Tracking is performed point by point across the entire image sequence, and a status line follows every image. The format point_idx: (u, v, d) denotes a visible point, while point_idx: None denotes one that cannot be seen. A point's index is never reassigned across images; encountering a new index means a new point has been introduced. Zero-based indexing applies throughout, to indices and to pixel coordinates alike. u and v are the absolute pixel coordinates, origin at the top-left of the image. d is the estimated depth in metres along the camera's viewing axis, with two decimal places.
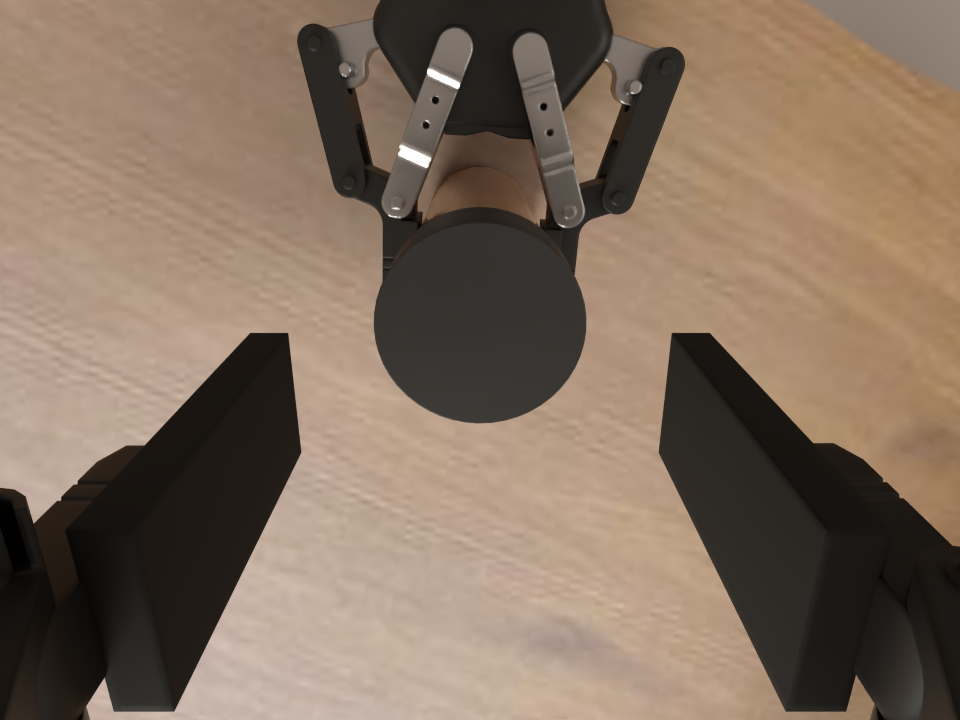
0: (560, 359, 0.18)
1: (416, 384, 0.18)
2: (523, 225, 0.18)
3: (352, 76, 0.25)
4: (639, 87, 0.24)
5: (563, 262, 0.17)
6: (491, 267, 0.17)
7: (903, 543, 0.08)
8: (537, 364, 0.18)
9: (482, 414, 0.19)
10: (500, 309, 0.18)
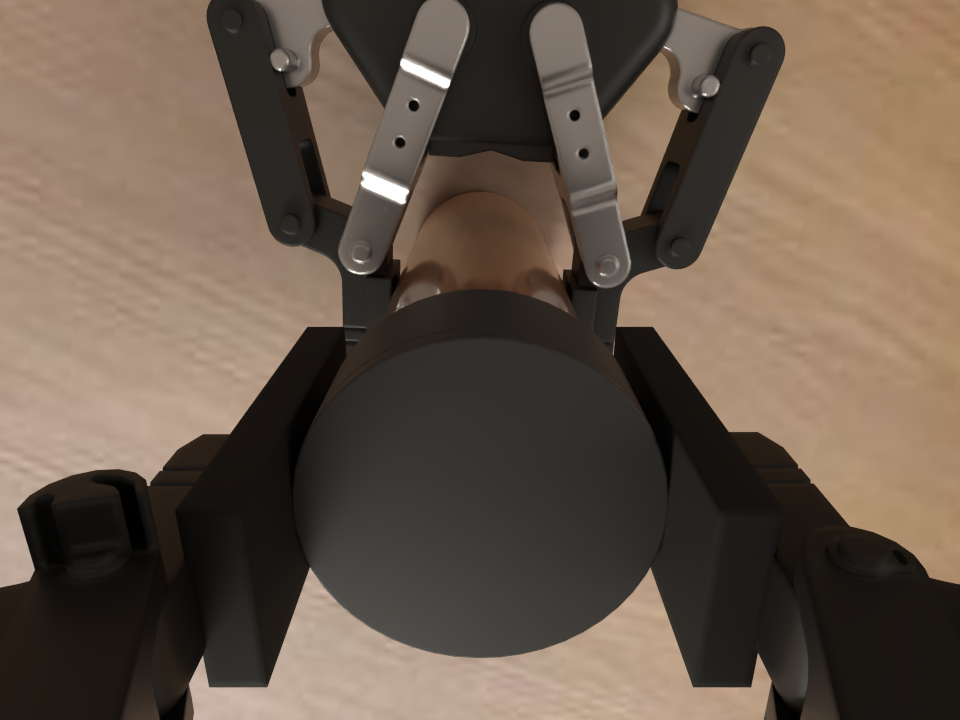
0: (621, 562, 0.10)
1: (370, 600, 0.11)
2: (558, 333, 0.10)
3: (292, 70, 0.17)
4: (716, 86, 0.16)
5: (632, 406, 0.09)
6: (501, 414, 0.09)
7: (804, 524, 0.09)
8: (580, 570, 0.10)
9: (484, 645, 0.11)
10: (517, 483, 0.10)
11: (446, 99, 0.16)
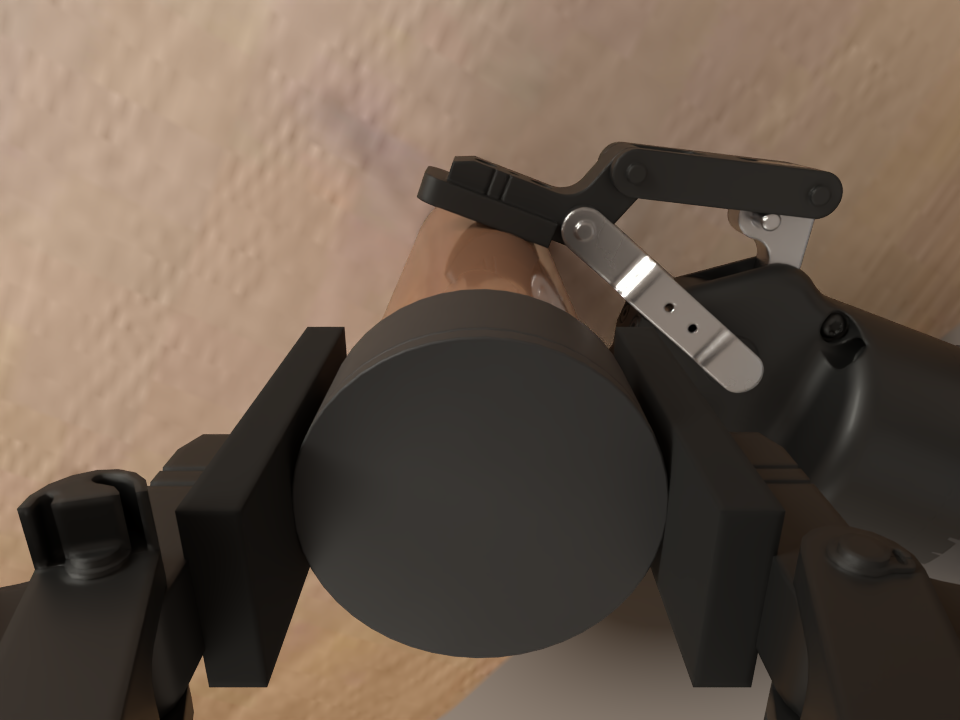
0: (620, 563, 0.10)
1: (369, 599, 0.11)
2: (559, 333, 0.10)
3: (752, 220, 0.18)
4: None
5: (633, 407, 0.09)
6: (502, 414, 0.09)
7: (803, 524, 0.09)
8: (580, 570, 0.10)
9: (483, 645, 0.11)
10: (517, 483, 0.10)
11: (680, 346, 0.19)
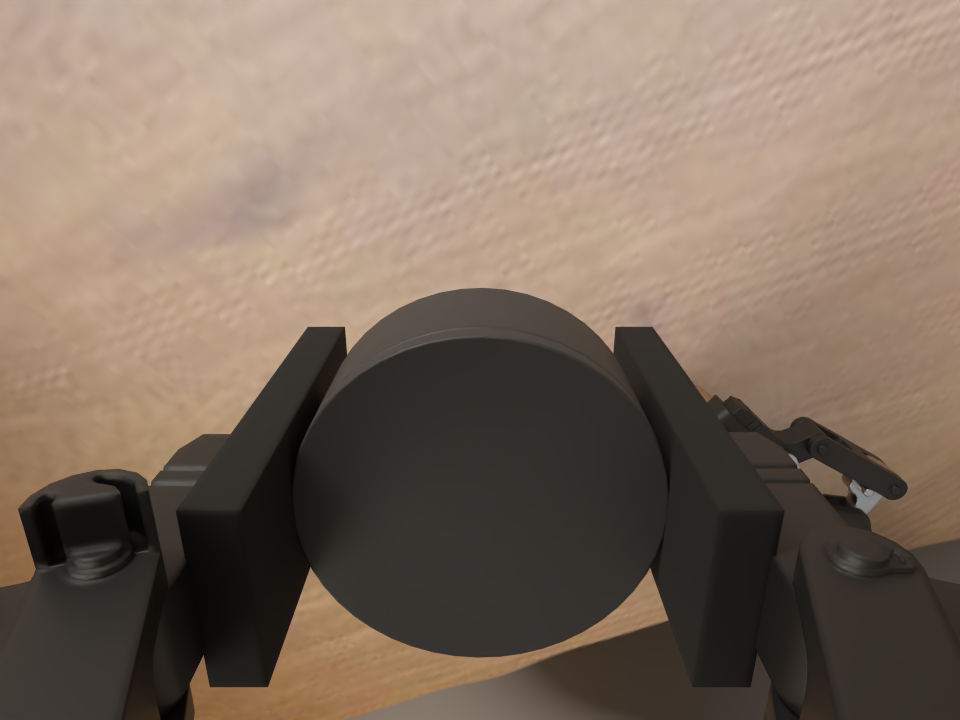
0: (621, 561, 0.10)
1: (370, 599, 0.11)
2: (557, 332, 0.10)
3: (858, 485, 0.35)
4: None
5: (632, 405, 0.09)
6: (500, 413, 0.09)
7: (803, 525, 0.09)
8: (580, 569, 0.10)
9: (484, 644, 0.11)
10: (516, 482, 0.10)
11: None
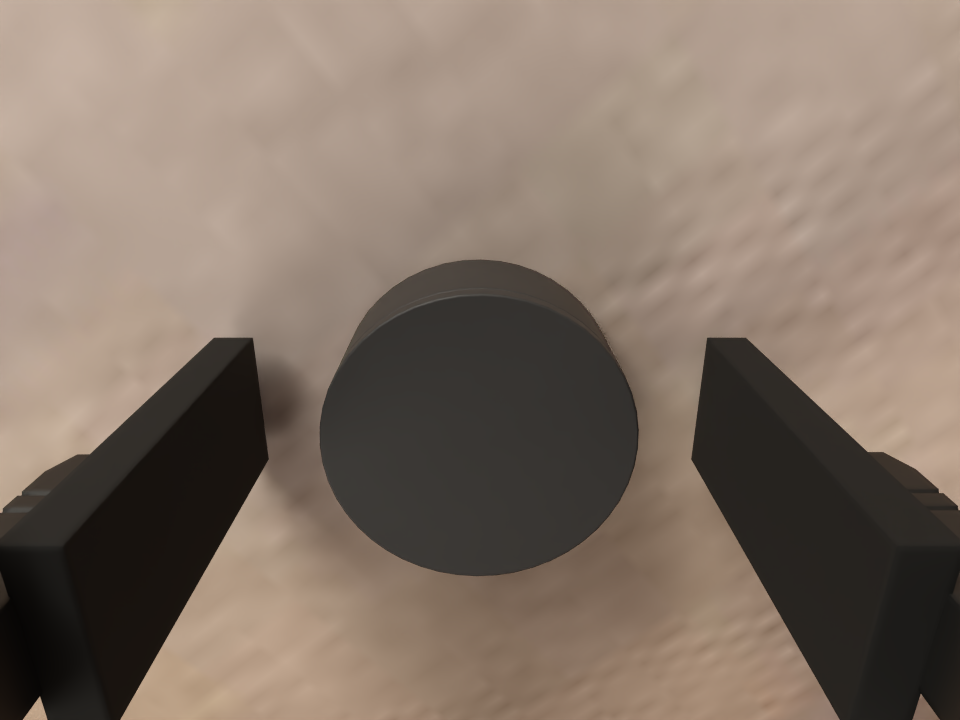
0: (598, 489, 0.12)
1: (385, 524, 0.13)
2: (544, 293, 0.12)
3: None
4: None
5: (606, 353, 0.11)
6: (497, 360, 0.11)
7: None
8: (564, 496, 0.12)
9: (483, 564, 0.13)
10: (510, 420, 0.12)
11: None
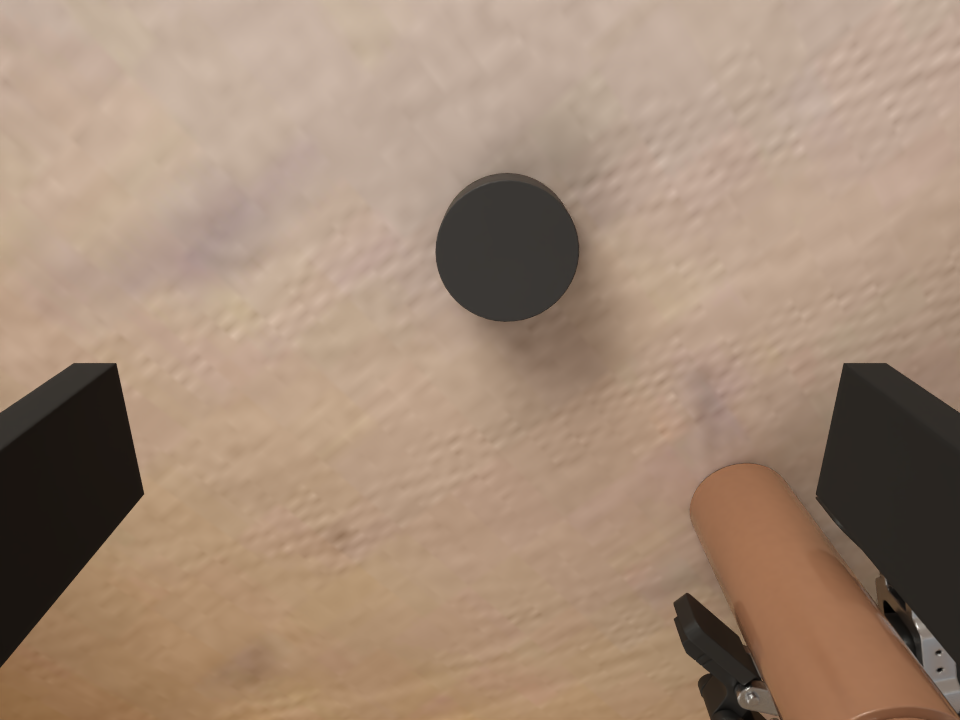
0: (561, 275, 0.27)
1: (463, 293, 0.27)
2: (536, 183, 0.26)
3: None
4: None
5: (563, 207, 0.26)
6: (515, 211, 0.26)
7: None
8: (545, 279, 0.27)
9: (507, 315, 0.27)
10: (521, 240, 0.26)
11: None
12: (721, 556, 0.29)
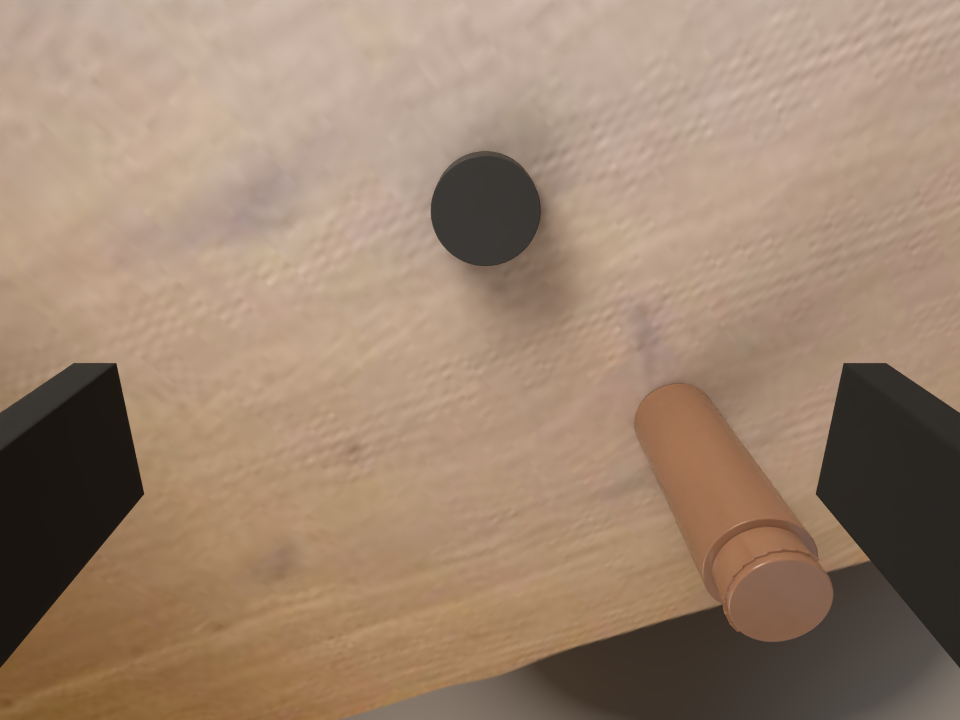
0: (527, 229, 0.35)
1: (452, 243, 0.35)
2: (507, 158, 0.35)
3: None
4: None
5: (528, 176, 0.34)
6: (491, 179, 0.34)
7: None
8: (515, 232, 0.35)
9: (486, 260, 0.36)
10: (496, 201, 0.35)
11: None
12: (654, 448, 0.37)
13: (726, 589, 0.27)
